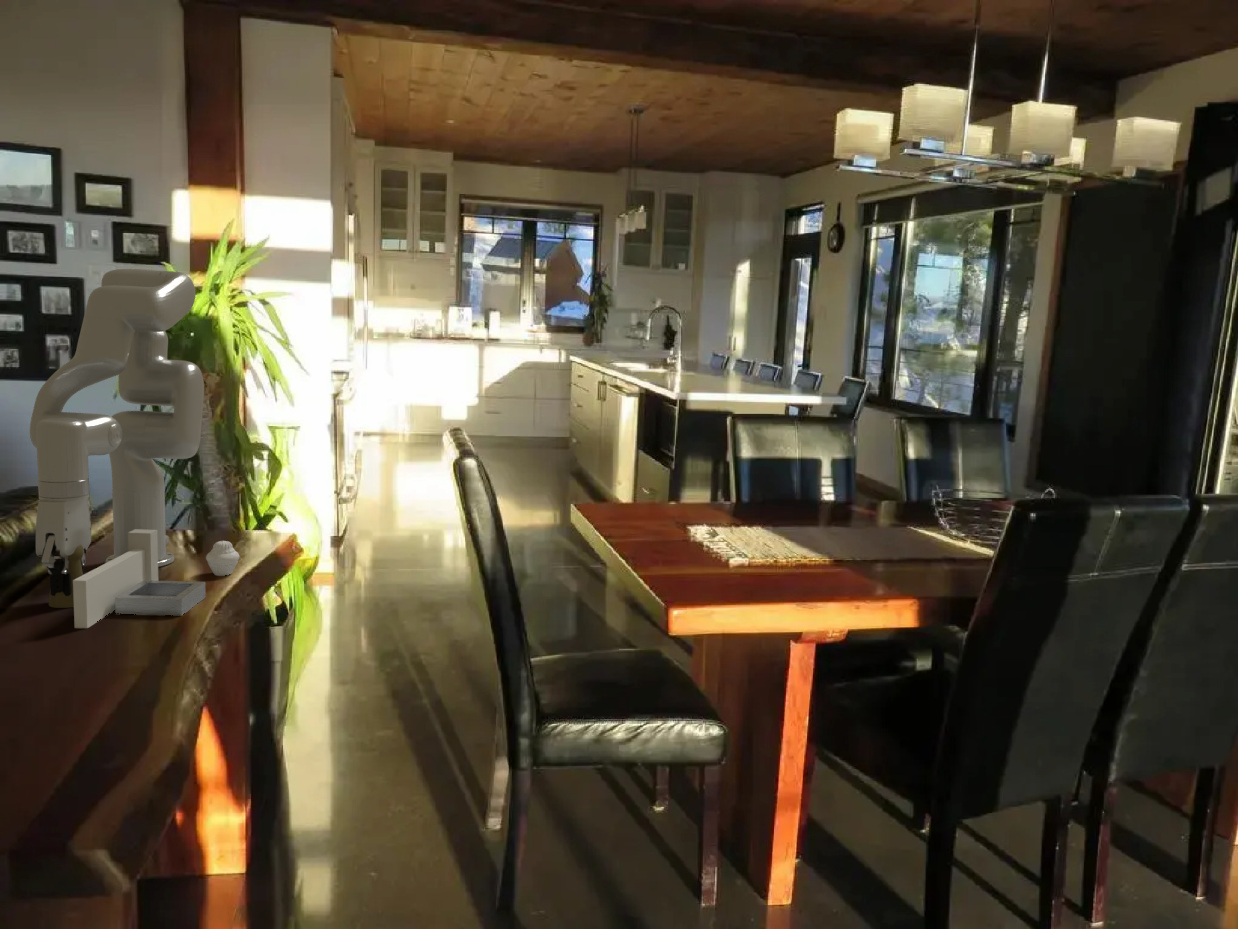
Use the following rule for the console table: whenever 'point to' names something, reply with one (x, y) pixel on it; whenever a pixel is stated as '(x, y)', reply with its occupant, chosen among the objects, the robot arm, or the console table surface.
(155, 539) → the door panel
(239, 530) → the console table surface
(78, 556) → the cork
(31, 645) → the console table surface
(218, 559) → the muffin
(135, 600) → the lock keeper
